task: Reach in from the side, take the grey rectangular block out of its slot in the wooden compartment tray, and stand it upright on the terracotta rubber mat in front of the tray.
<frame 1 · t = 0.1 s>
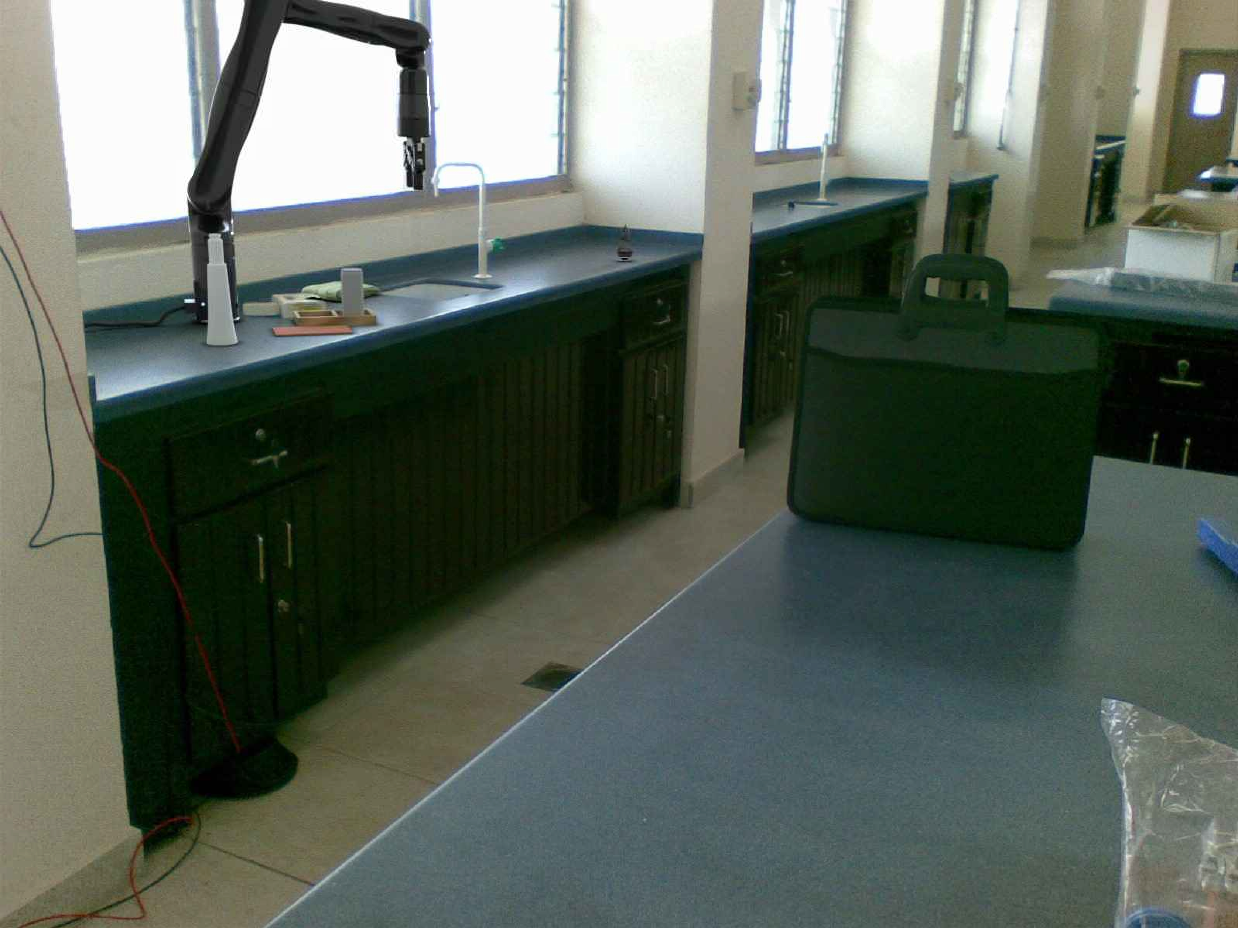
hand: (414, 188, 276), 29 cm above the table, tool pointing down, fingers open, 8 cm apart
washcloth: (340, 297, 308), on the table
wooden compartment tray: (335, 322, 271), on the table
grey rectangular block: (353, 323, 272), resting in wooden compartment tray
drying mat: (312, 331, 260), on the table
cosmetic bottle: (222, 344, 245), on the table
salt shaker: (624, 261, 397), on the table
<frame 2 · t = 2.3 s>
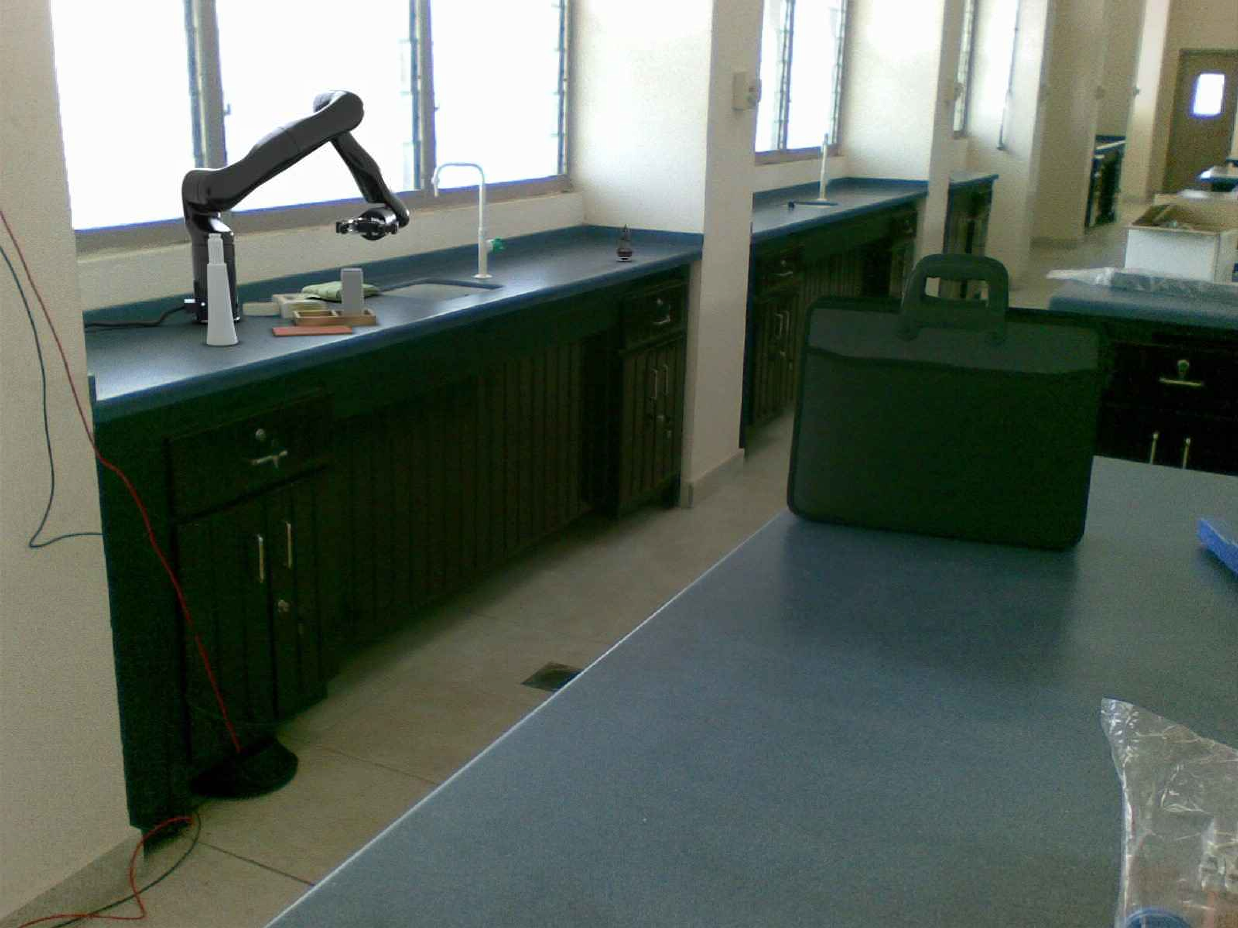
hand: (361, 230, 277), 20 cm above the table, tool horizontal, fingers open, 8 cm apart
nothing on the table moved.
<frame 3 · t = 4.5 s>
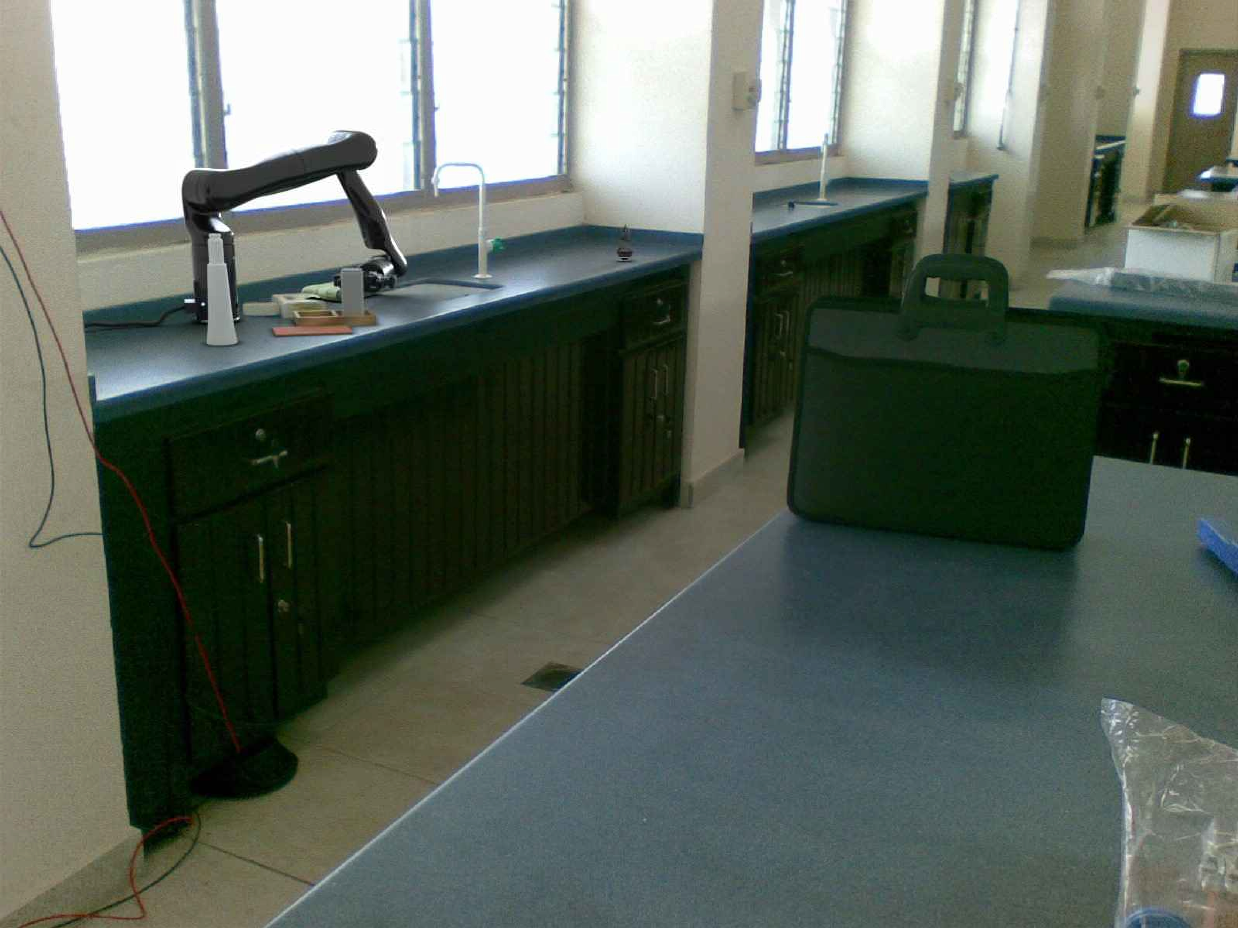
hand: (359, 284, 277), 8 cm above the table, tool horizontal, fingers open, 8 cm apart
nothing on the table moved.
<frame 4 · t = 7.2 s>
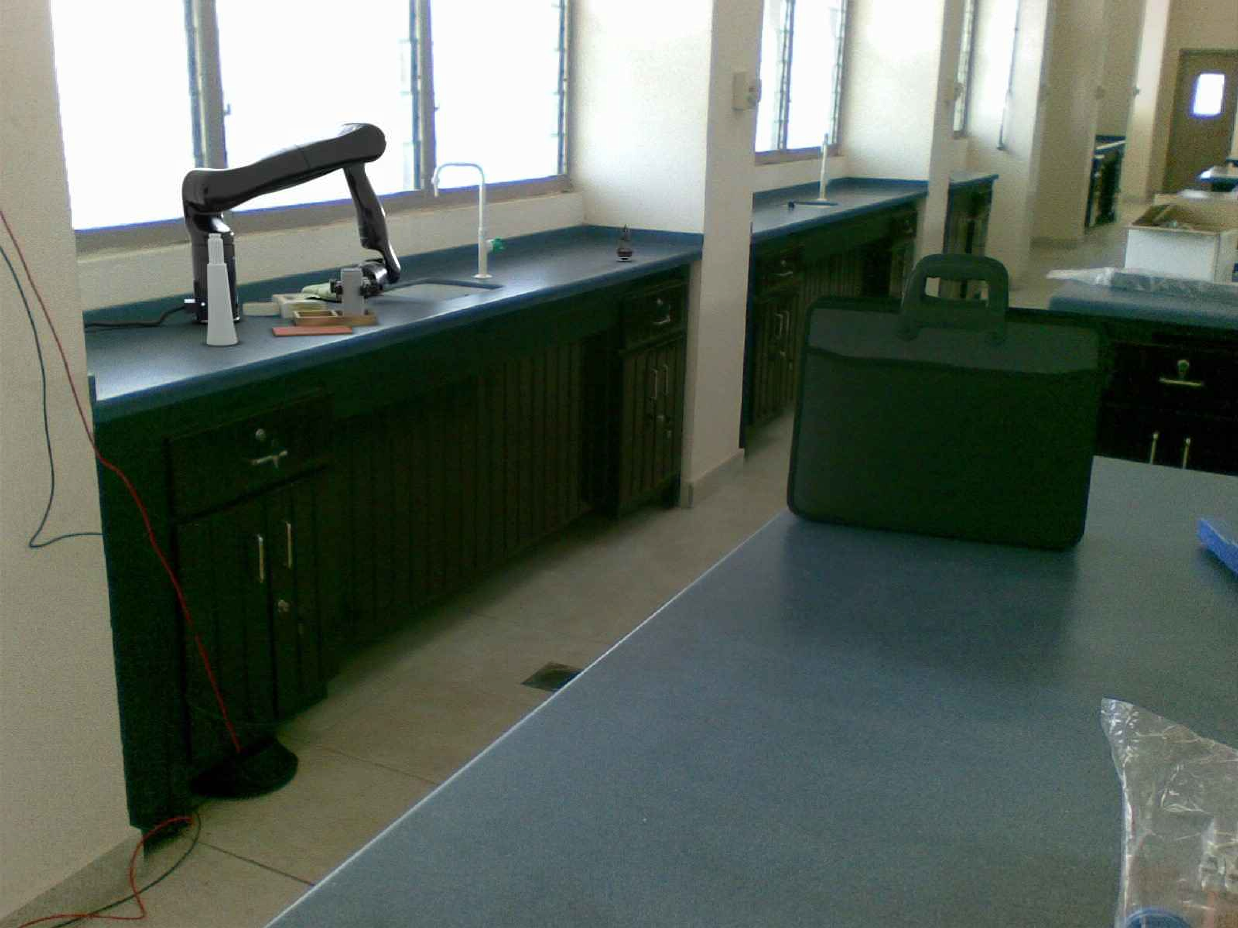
hand: (349, 290, 268), 8 cm above the table, tool horizontal, fingers closed on grey rectangular block, 4 cm apart
grey rectangular block: (353, 323, 272), resting in wooden compartment tray, touching gripper
everything else where it was.
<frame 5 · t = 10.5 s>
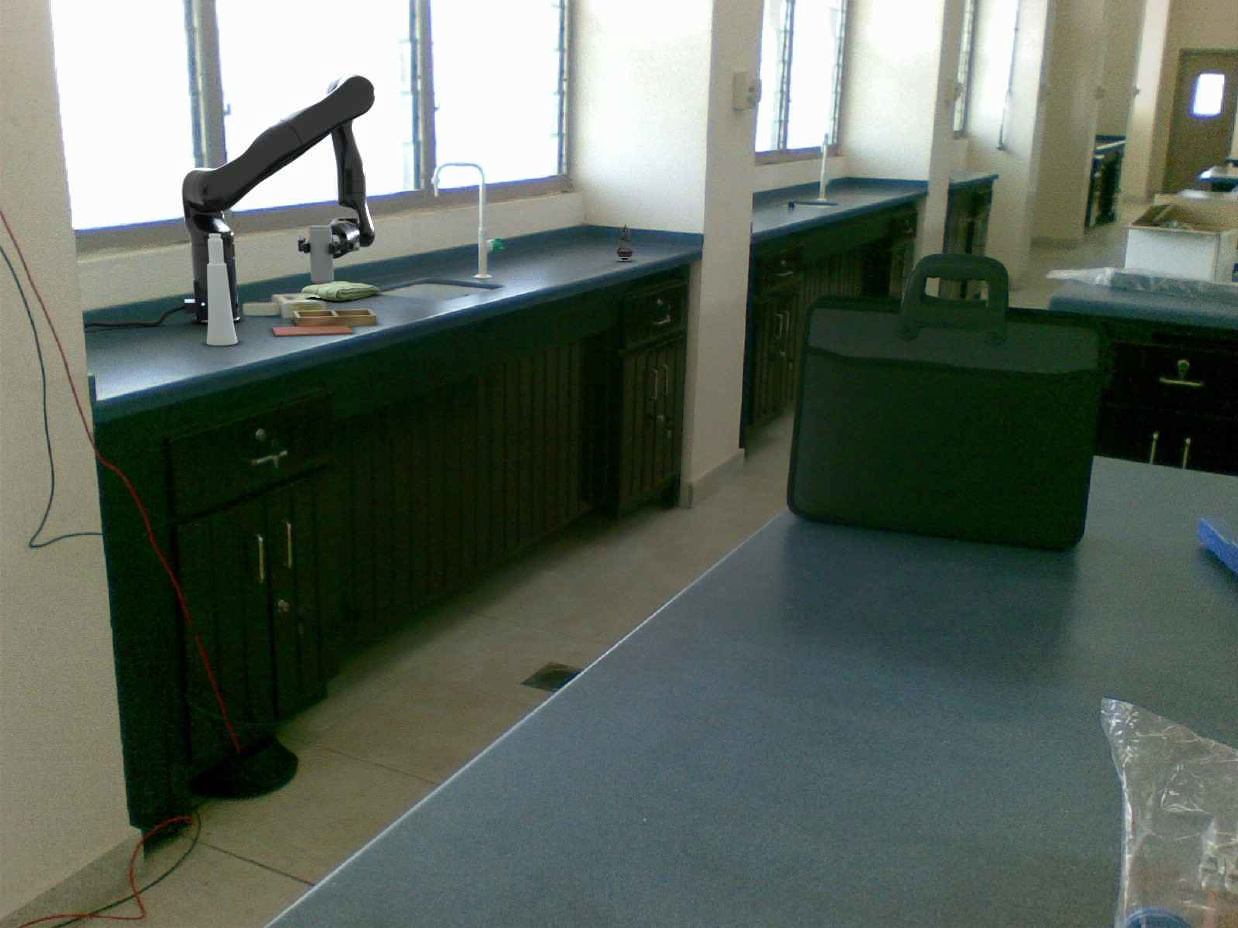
hand: (318, 248, 256), 18 cm above the table, tool horizontal, fingers closed on grey rectangular block, 5 cm apart
grey rectangular block: (322, 283, 261), point 10 cm above the table, touching gripper
everything else where it was.
when the fingers open (8 cm above the table, at t = 14.1 s): grey rectangular block stays where it is, resting on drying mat.
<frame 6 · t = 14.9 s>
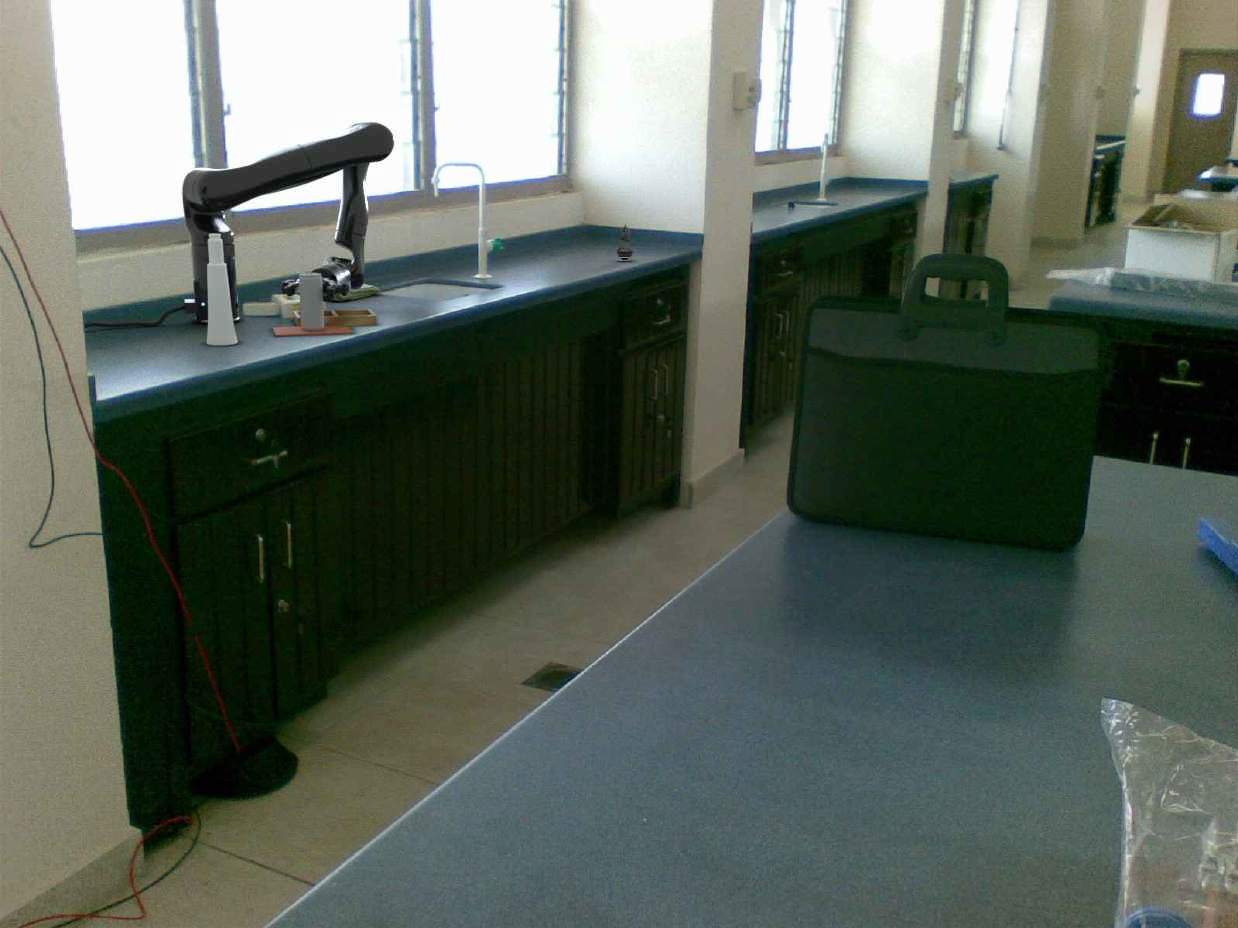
hand: (308, 292, 256), 9 cm above the table, tool horizontal, fingers open, 8 cm apart
grey rectangular block: (312, 330, 260), resting on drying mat
everything else where it was.
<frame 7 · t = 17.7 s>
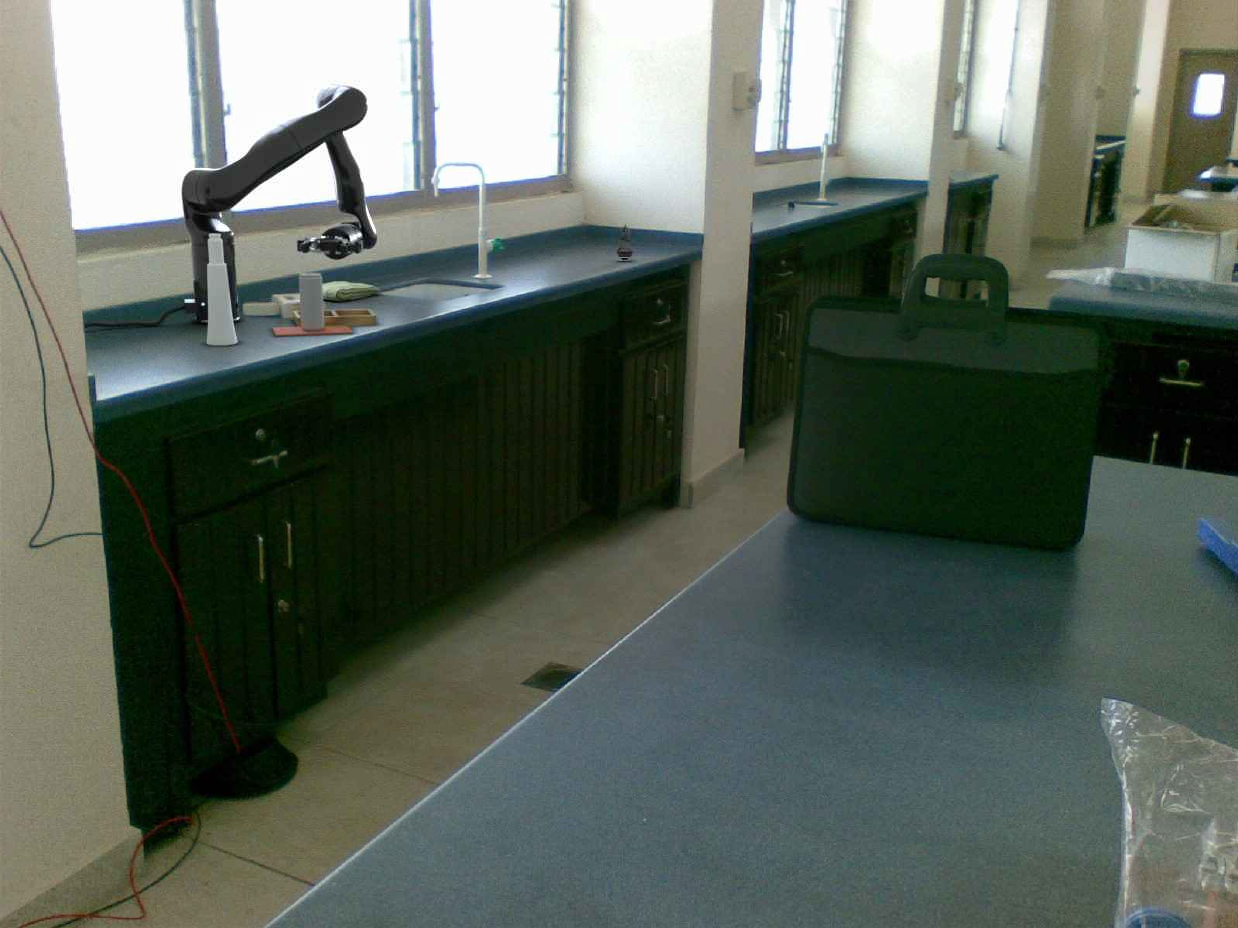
hand: (322, 248, 268), 16 cm above the table, tool horizontal, fingers open, 8 cm apart
nothing on the table moved.
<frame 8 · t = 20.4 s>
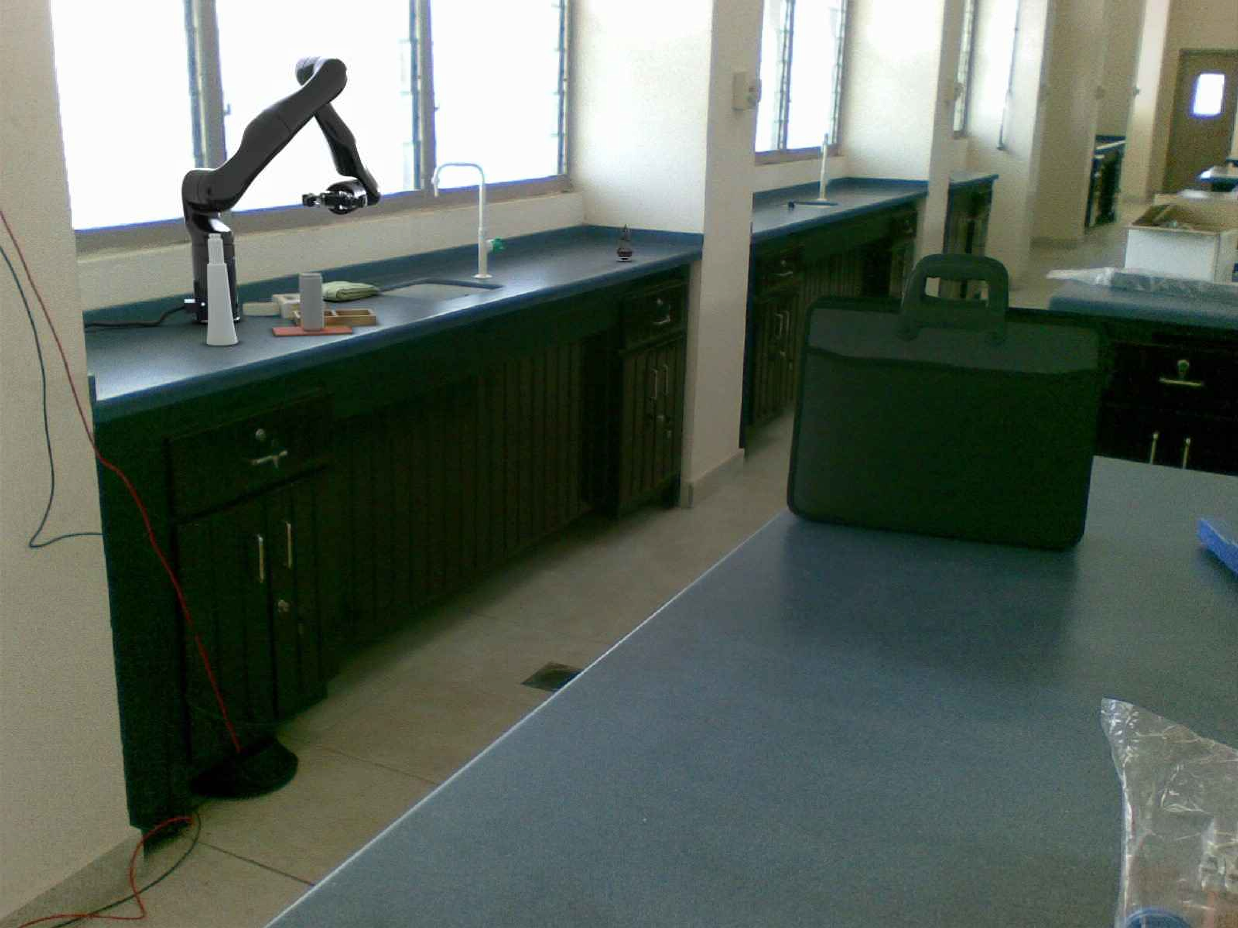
hand: (327, 202, 271), 26 cm above the table, tool horizontal, fingers open, 8 cm apart
nothing on the table moved.
at the end: grey rectangular block inside the target area (0.1 cm from its centre), resting on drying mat; grey rectangular block tilted 0°; the gripper is holding nothing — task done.
